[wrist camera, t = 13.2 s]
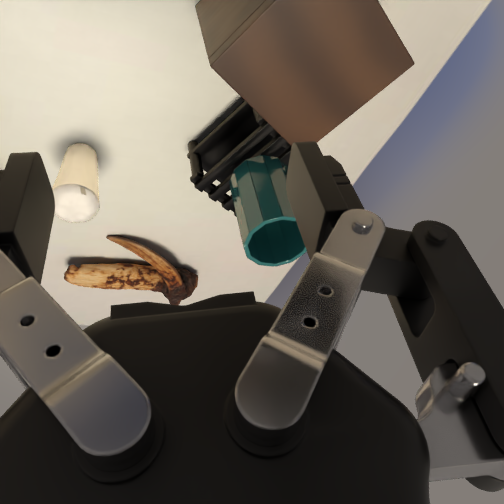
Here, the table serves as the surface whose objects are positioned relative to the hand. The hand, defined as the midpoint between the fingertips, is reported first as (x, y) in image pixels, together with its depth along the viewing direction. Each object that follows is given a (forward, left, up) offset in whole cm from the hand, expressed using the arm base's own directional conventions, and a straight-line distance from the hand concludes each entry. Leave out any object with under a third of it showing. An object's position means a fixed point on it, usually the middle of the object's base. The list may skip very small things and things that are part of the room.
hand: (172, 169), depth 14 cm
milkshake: (+20, +7, -30) cm, 37 cm away
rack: (+7, +20, -30) cm, 37 cm away
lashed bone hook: (+30, +22, -30) cm, 48 cm away
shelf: (-4, +11, -30) cm, 32 cm away
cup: (+7, +20, -23) cm, 31 cm away
